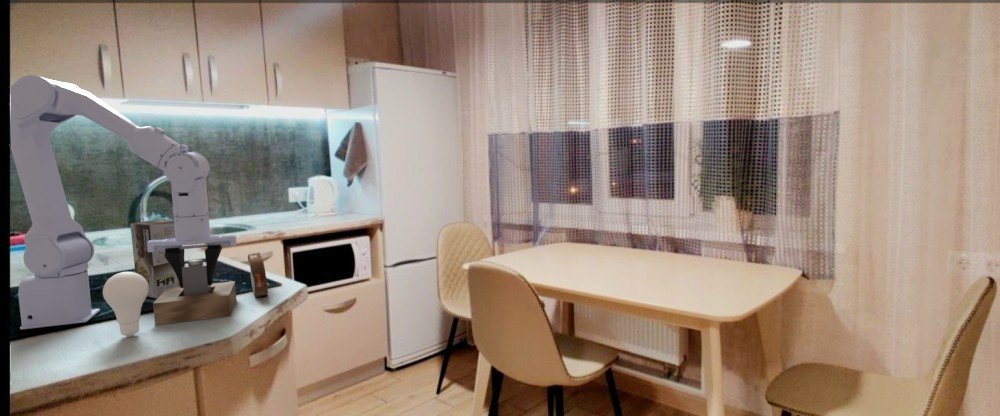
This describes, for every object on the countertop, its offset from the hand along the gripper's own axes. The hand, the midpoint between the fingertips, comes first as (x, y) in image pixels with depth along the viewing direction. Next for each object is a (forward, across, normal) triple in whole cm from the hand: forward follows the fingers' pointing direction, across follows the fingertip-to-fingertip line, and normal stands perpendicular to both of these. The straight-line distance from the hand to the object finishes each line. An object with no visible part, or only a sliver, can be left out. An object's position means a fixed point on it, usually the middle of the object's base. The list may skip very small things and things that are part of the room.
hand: (196, 285), depth 97 cm
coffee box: (+5, -10, +20) cm, 23 cm away
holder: (+5, 0, 0) cm, 5 cm away
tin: (+6, +10, +11) cm, 16 cm away
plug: (+2, 0, 0) cm, 3 cm away
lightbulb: (+5, -8, -11) cm, 15 cm away
